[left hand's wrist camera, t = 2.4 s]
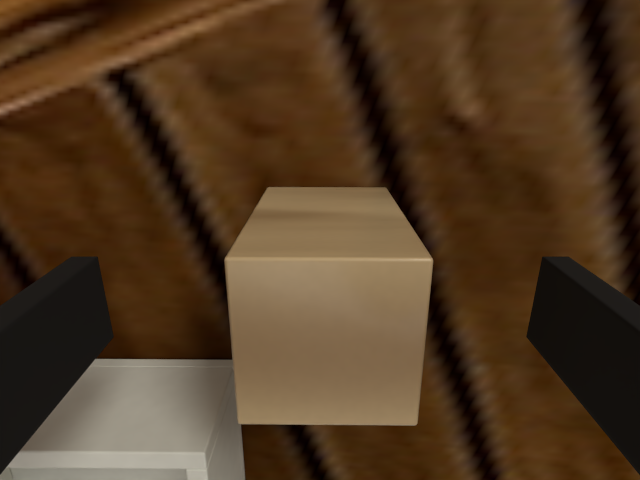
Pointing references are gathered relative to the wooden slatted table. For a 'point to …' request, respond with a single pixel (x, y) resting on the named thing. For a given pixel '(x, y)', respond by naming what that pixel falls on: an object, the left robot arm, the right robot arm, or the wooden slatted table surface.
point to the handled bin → (140, 425)
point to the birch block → (328, 309)
